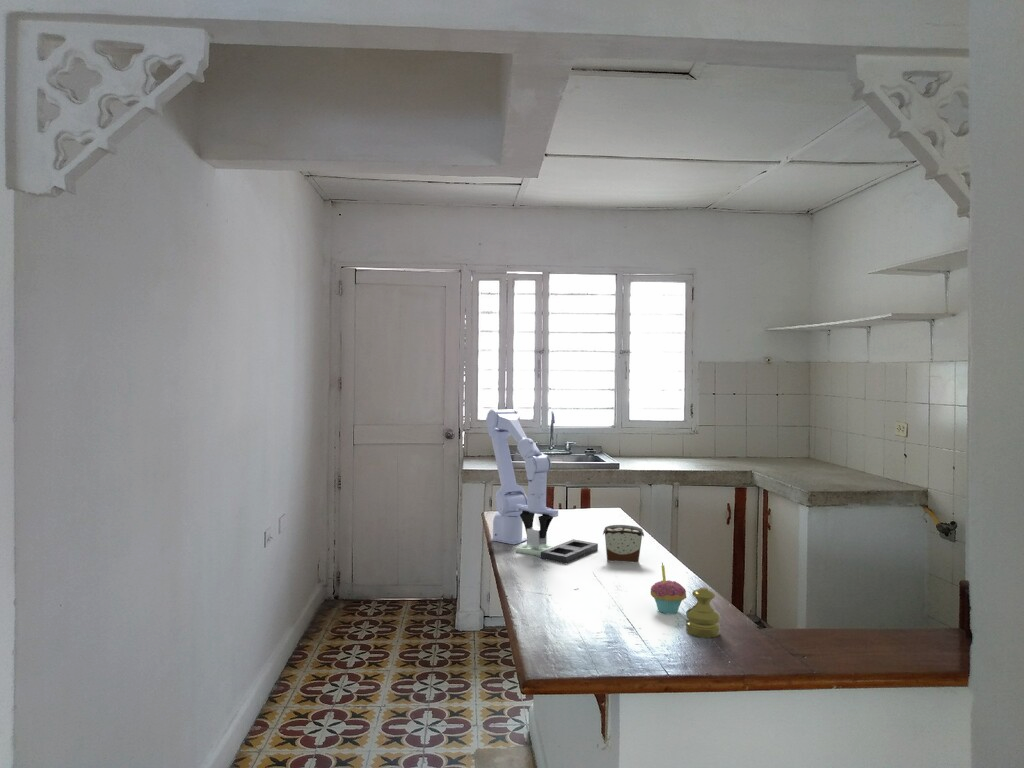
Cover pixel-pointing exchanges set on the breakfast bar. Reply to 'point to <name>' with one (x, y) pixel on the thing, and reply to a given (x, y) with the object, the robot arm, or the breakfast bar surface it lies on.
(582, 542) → the dark grey rectangular frame
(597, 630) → the breakfast bar surface
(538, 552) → the parts tray
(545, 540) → the grey rectangular block
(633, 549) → the food container
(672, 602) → the cupcake
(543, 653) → the breakfast bar surface
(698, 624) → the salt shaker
